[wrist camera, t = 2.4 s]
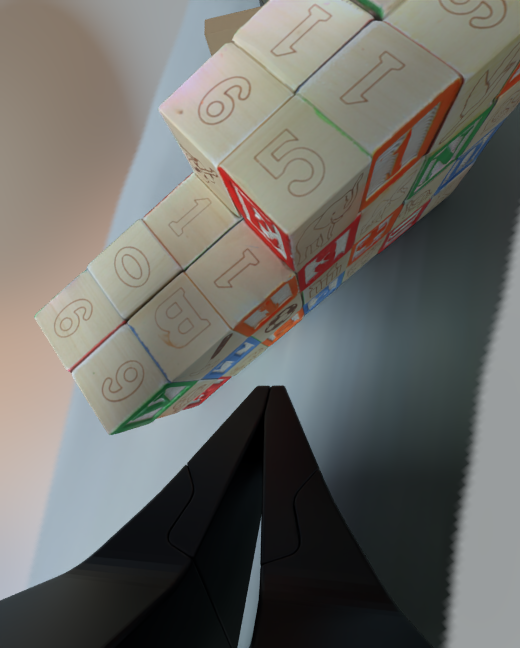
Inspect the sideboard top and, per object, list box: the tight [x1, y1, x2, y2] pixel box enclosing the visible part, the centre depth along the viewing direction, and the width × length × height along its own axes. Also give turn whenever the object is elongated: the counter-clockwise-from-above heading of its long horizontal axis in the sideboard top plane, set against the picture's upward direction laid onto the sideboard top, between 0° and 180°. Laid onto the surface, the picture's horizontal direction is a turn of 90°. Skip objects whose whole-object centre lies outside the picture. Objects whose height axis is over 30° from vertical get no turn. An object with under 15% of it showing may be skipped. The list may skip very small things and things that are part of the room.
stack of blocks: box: [34, 0, 520, 435], centre depth 15 cm, size 21×6×12 cm, turn 130°
